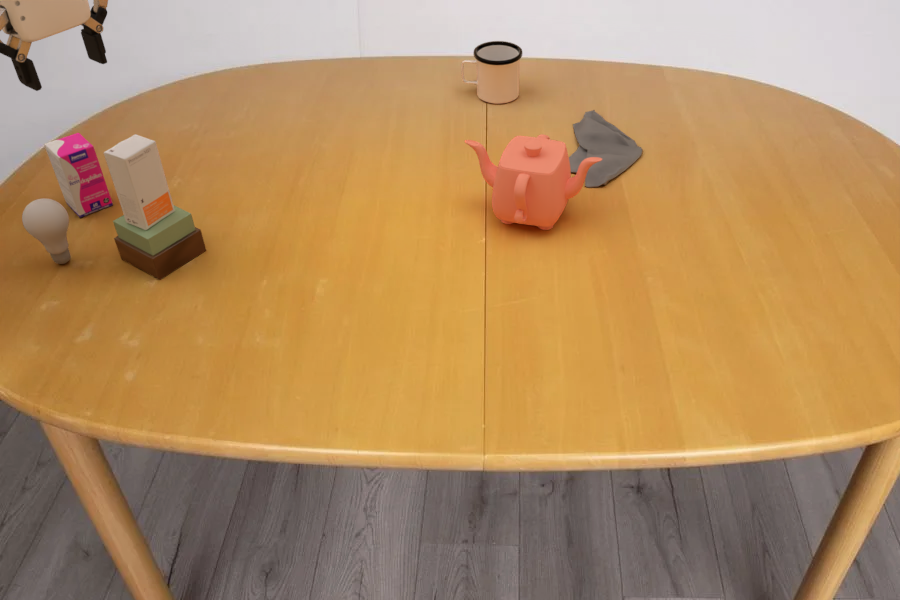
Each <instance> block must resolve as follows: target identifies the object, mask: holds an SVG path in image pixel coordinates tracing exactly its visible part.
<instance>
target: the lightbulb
mask: <svg viewBox="0 0 900 600" xmlns="http://www.w3.org/2000/svg"><path fill="white" fill-rule="evenodd" d="M21 221H22V226H23V228H24V229H25V231H26V232H27V233H28V234H29V235H30V236H31V237H33V238H35V240H37V241H39V242H40V243H41V244H42V245H43V247H44V248H45V250H46V252H47V253H48V254H49V255H50V257H51V259H52V261H53V262H54V263H55V264H58V265H60V264H61V265H64V264H67V263H68V262H69V261H70V260H71V258H72V255H71V252H70V249H69V242H68V241H69V240H68V237H67V235H68V230H69V225H70V216H69V213H68V211H67V209H66V208H65V207H64V206H63V205H62V204H61V203H60V202H58V201H57V200H55V199H52V198H46V197H45V198H43V197H42V198H37V199H34V200H32V201H30V202H29V203H28V204H27V205H26V206H25V207H24V209H23V211H22V215H21Z"/></svg>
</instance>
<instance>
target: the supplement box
mask: <svg viewBox="0 0 900 600" xmlns="http://www.w3.org/2000/svg"><path fill="white" fill-rule="evenodd" d="M43 145H44V148H45V151H46V153H47V156H48V159H49V161H50V164H51V167H52V169H53V172H54V175H55V177H56V180H57V183H58V186H59V188H60V190H61V193H62V196H63V198H64V201H65V203H66V205H67V206H68V207H69V208H70V209H71V210H72V211H73V212H74V213H75V214H76V216H77V217H79V218H80V219H81V218H84V217H86V216H88V215H90V214H91V215H92V214H94V213H96V212H99V211H101V210H104V209H107V208H110V207H112V206H113V205H114V203H113V199H112V197H111V194H110V190H109V188H108V185H107V182H106V179H105V176H104V173H103V170H102V167H101V164H100V161H99V159H98V156H97V152H96V149H95V147H94V145H93V144H92V143H91V142H90V141H88V139H86V138H85V137H84V136H83V135H82V134H81V133H80V132H76V133H73V134H70V135H67V136H64V137H60V138H57V139H55V140H52V141H49V142H46V143H44V144H43Z"/></svg>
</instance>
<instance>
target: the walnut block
mask: <svg viewBox="0 0 900 600" xmlns="http://www.w3.org/2000/svg"><path fill="white" fill-rule="evenodd" d="M195 229H196V230H195V231H193V232H191V233H190V234H188V235H186V236H185V237H183V238H181V239H180V240H178V241H177V242H175V243H173V244H172V245H170V246H168V247H167V248H165V249H163V250H162V251H160V252H159V253H157V254H155V255H154V256H153V255H151V254H149V253H147V252H145V251H143V250H141V249H139V248H138V247H136V246H134V245H132V244H130V243H128V242H126V241H124V240H122V239H121V238H119V237H118V235H117V236H115V237H114V238H113V239H114V242H115V246H116V248H117V251H118V254H119V256H120V259H121V260H122V261H124V262H125V263H127V264H130V265H131V266H133V267H134V268H137V269H138V270H141V271H143V272H144V273H146V274H148V275H150V276H151V277H153V278H155V279H157V280H159V281H160V280H162V279H164V278H166V277H167V276H169V275H170V274H172V273H174V271H177V270H178V269H179V268H181V267H183V266H184V265H186V264H188V263H189V262H191V261H192V260H194V259H196V258H197V257H198V256H200V255H202V254H203V253H205V252H207V248H206V243H205V240H204V237H203V233H202V229H201V228H199V227H197V226H195Z"/></svg>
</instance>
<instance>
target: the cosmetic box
mask: <svg viewBox="0 0 900 600" xmlns="http://www.w3.org/2000/svg"><path fill="white" fill-rule="evenodd" d="M103 156H104V160H105V162H106V165H107V168H108V172H109V173H110V178H111V181H112V183H113V186H114V189H115V193H116V195H117V198H118V201H119V204H120V207H121V211H122V213H123V215H124V217H125V220H126V222H127V223H129V224H131V225H134V226H136V227H139V228H141V229H144V230H148V229H149V228H150V227H152V226H153V225H155V224H156V223H158V222H159V221H161V220H162V219H164V218H165V217H167V216H168V215H170V214H171V213H173V212H175V209H174V202H173V198H172V195H171V191H170V188H169V184H168V180H167V177H166V173H165V170H164V166H163V162H162V159H161V156H160V152H159V148H158V145H157V142H156V140H154V139H151V138H147V137H145V136H142V135H140V134H136V133H135V134H133V135H131V136H130V137H128V138H126V139H124V140H121V141H119V142H117V143H116V144H115V145H114V146H112V147H111V148H108V149H107V150H105V151H103Z"/></svg>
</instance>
